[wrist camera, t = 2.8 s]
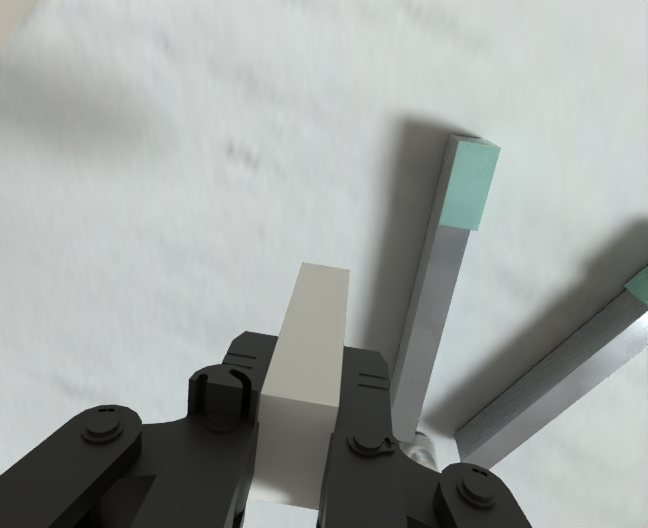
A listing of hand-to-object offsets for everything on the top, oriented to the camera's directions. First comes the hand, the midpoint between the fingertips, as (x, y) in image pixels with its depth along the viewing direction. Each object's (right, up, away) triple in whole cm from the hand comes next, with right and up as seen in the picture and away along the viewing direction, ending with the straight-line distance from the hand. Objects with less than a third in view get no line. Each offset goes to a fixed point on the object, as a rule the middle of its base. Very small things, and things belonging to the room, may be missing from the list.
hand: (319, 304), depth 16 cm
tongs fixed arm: (+12, -5, +14) cm, 19 cm away
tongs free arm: (+6, 0, +12) cm, 14 cm away
